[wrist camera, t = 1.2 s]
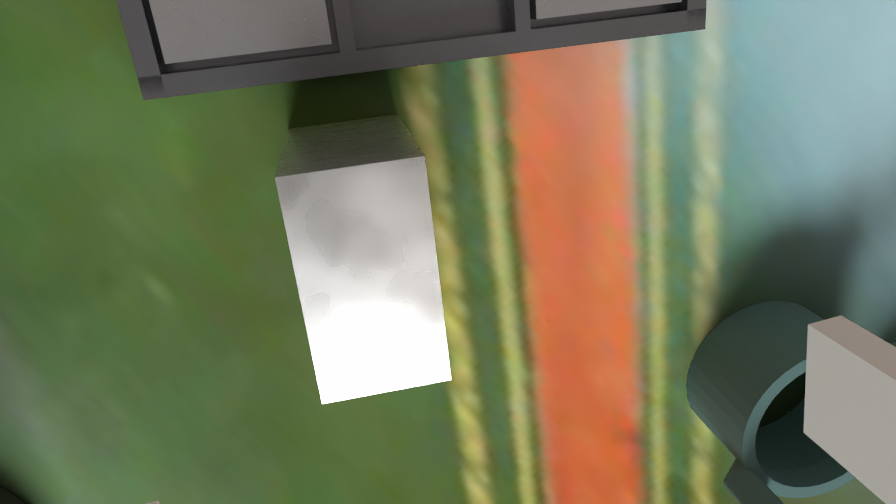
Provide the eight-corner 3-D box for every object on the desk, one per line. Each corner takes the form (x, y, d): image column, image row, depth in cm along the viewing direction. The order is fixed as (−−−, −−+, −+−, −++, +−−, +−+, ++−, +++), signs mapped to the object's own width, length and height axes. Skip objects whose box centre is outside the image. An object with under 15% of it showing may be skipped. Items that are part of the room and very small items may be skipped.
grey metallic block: (322, 304, 30) (322, 404, 22) (287, 128, 27) (274, 177, 19) (419, 287, 30) (451, 379, 23) (397, 114, 27) (424, 155, 20)
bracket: (666, 438, 36) (768, 569, 28) (714, 285, 33) (845, 381, 25) (804, 441, 38) (938, 564, 30) (862, 298, 35) (1029, 390, 27)
